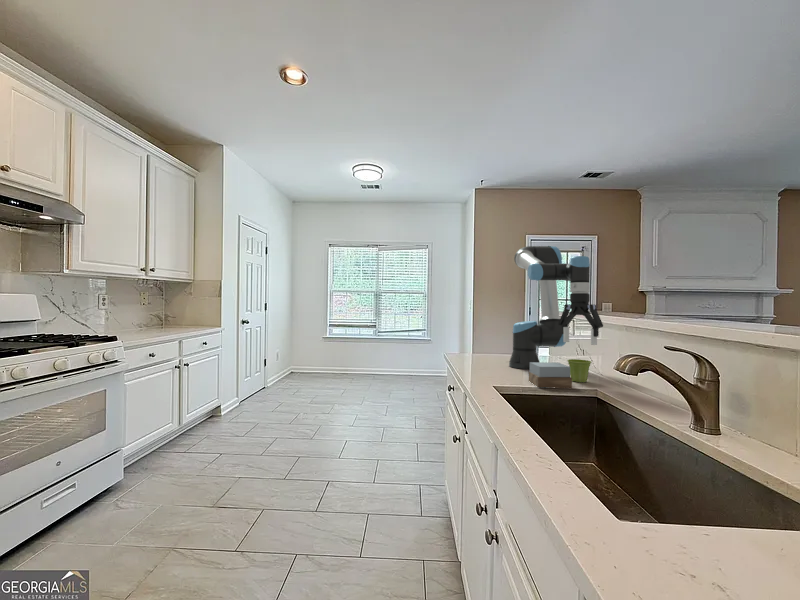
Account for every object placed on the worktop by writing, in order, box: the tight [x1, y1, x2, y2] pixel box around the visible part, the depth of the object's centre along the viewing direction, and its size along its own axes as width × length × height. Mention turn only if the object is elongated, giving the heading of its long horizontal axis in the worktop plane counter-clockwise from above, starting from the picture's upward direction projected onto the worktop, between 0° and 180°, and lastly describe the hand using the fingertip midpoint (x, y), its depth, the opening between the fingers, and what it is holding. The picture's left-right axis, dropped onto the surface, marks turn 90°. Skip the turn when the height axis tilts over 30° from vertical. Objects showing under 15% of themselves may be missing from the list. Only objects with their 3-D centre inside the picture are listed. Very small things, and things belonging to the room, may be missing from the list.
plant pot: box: [567, 358, 592, 383], centre depth 175 cm, size 9×9×9 cm
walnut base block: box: [528, 371, 573, 389], centre depth 167 cm, size 13×13×4 cm
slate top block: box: [529, 361, 571, 377], centre depth 167 cm, size 12×12×4 cm
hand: (579, 343), depth 174 cm, fingers open, 13 cm apart
